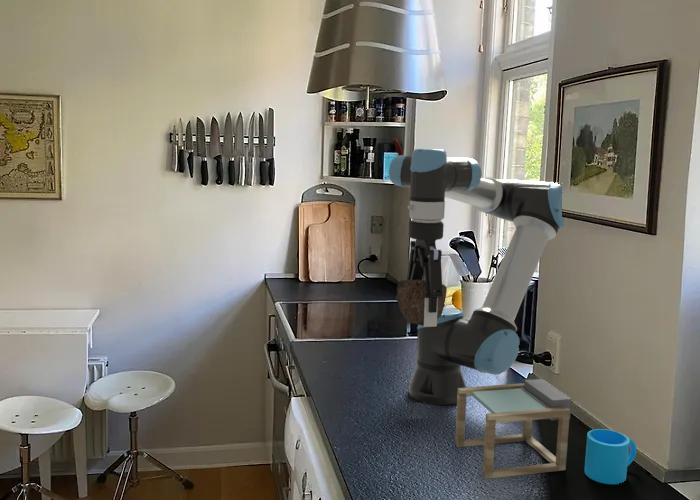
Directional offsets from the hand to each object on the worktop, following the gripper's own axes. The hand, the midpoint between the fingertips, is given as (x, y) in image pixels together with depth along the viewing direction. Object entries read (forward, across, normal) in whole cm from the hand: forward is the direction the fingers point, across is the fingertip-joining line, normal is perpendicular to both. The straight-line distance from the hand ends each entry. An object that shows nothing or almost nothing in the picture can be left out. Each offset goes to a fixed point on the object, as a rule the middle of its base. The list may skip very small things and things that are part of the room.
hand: (422, 320), depth 153 cm
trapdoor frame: (+28, +14, +16) cm, 35 cm away
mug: (+28, +24, +34) cm, 50 cm away
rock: (+1, 0, 0) cm, 1 cm away
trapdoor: (+17, +13, +18) cm, 28 cm away
